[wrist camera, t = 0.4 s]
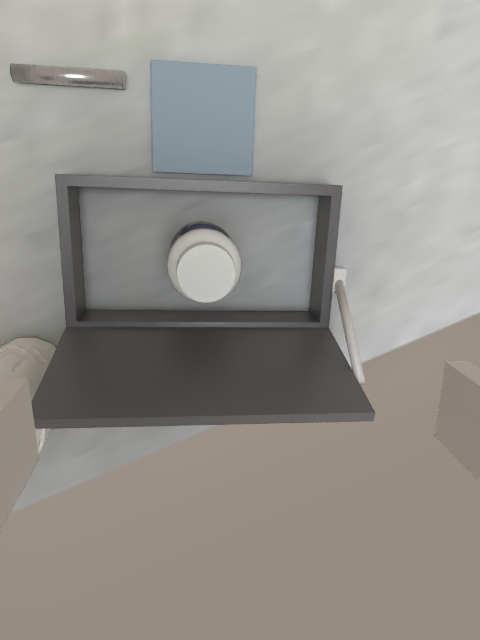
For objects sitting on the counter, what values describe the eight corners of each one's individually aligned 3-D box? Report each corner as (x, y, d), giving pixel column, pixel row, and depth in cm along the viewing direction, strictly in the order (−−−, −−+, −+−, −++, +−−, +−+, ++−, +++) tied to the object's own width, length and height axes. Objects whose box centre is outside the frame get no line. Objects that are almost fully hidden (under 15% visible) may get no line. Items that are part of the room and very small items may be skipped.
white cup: (89, 399, 42) (60, 462, 33) (4, 420, 42) (-49, 490, 32) (60, 320, 40) (20, 364, 30) (-30, 342, 39) (-98, 393, 30)
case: (78, 347, 41) (23, 430, 27) (66, 174, 36) (-5, 170, 23) (324, 346, 43) (387, 421, 30) (339, 185, 39) (421, 187, 25)
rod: (16, 83, 34) (10, 80, 33) (15, 65, 34) (9, 61, 33) (125, 90, 35) (123, 87, 34) (125, 73, 35) (123, 69, 34)
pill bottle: (169, 220, 38) (164, 232, 29) (232, 221, 39) (247, 233, 30) (170, 283, 40) (166, 314, 31) (232, 283, 41) (245, 313, 31)
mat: (153, 171, 37) (152, 171, 37) (151, 61, 35) (151, 59, 34) (250, 175, 38) (251, 175, 37) (255, 68, 36) (256, 67, 35)
